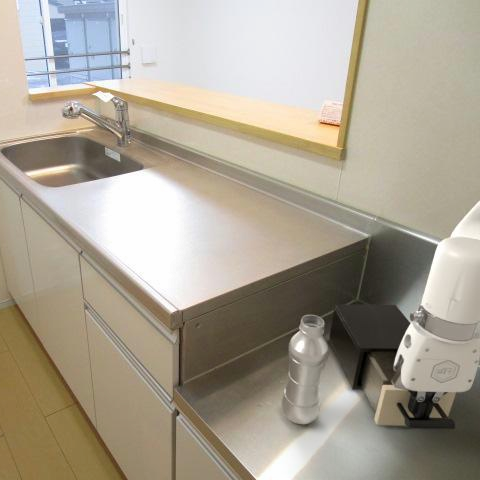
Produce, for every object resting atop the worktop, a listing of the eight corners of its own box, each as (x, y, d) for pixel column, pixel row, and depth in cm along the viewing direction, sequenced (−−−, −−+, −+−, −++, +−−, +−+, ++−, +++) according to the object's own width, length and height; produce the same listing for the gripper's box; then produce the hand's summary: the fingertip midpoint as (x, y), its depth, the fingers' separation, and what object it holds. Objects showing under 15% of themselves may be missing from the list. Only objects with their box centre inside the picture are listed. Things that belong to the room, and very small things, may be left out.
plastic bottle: (321, 409, 81) (338, 316, 73) (312, 435, 76) (329, 338, 68) (286, 396, 84) (298, 305, 76) (275, 420, 79) (286, 326, 71)
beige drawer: (461, 450, 72) (474, 413, 68) (388, 448, 72) (398, 412, 69) (407, 372, 88) (416, 339, 85) (348, 371, 89) (355, 339, 86)
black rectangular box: (419, 389, 85) (431, 348, 81) (352, 389, 86) (360, 348, 82) (386, 342, 98) (395, 304, 94) (328, 341, 99) (334, 304, 95)
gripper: (407, 334, 62) (380, 432, 70) (517, 337, 62) (478, 434, 70) (384, 305, 69) (362, 397, 77) (483, 307, 69) (451, 399, 76)
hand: (417, 414), depth 73 cm, fingers closed
